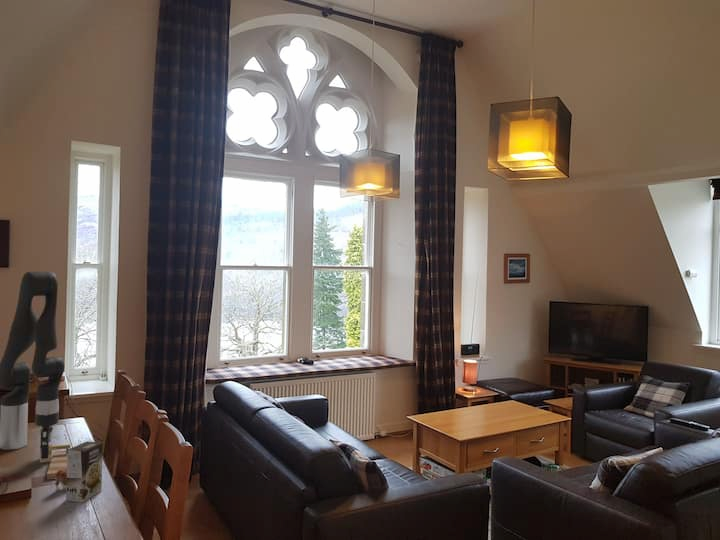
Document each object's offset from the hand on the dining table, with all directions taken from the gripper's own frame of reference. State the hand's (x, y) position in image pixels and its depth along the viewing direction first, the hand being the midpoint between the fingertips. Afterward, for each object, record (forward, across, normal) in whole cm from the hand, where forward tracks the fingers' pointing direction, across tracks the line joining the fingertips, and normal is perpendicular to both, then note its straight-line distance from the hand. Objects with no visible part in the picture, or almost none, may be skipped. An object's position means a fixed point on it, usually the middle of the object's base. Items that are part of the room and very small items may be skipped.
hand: (46, 454), depth 204 cm
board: (+2, +8, +5) cm, 10 cm away
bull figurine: (+3, +28, +10) cm, 30 cm away
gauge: (+2, 0, +3) cm, 4 cm away
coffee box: (+3, +38, +14) cm, 41 cm away
